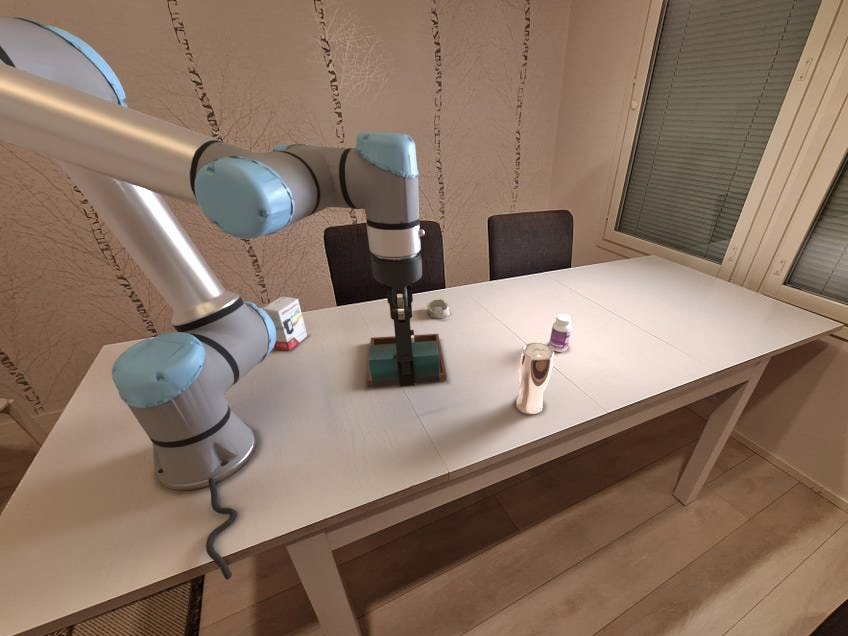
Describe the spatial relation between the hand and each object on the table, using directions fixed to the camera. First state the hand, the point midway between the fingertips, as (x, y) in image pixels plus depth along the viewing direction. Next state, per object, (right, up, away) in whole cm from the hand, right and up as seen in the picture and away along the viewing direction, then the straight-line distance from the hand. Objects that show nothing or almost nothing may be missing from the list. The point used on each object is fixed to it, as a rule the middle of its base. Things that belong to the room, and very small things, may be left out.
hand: (406, 375), depth 69 cm
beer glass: (+25, -8, +16) cm, 31 cm away
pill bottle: (+36, +6, +38) cm, 53 cm away
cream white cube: (-6, +7, +33) cm, 35 cm away
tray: (-5, +2, +28) cm, 28 cm away
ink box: (-39, +8, +33) cm, 52 cm away
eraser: (0, 0, 0) cm, 0 cm away
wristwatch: (0, +18, +51) cm, 54 cm away
